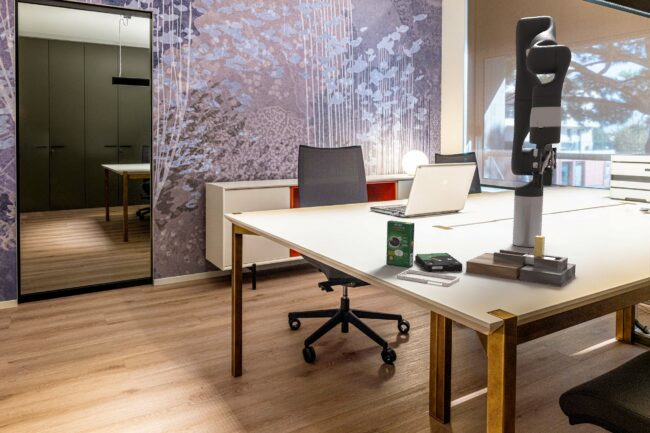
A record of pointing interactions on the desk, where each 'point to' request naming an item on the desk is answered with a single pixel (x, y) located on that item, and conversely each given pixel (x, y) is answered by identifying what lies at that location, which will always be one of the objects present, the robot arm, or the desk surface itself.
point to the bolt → (537, 251)
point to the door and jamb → (523, 267)
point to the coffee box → (400, 243)
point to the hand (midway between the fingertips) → (542, 187)
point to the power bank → (428, 279)
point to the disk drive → (438, 262)
